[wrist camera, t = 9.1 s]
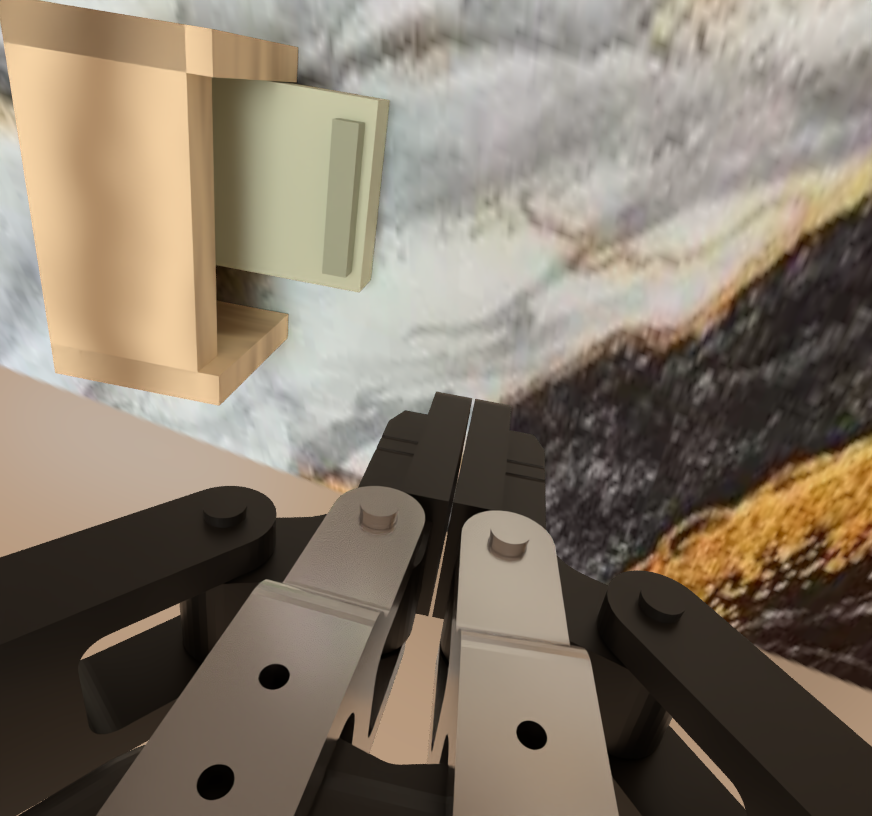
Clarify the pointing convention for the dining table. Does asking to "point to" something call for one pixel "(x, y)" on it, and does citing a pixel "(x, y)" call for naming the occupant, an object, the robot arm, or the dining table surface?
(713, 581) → the dining table surface
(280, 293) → the dining table surface
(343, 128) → the panel
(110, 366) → the wooden c-channel bracket
